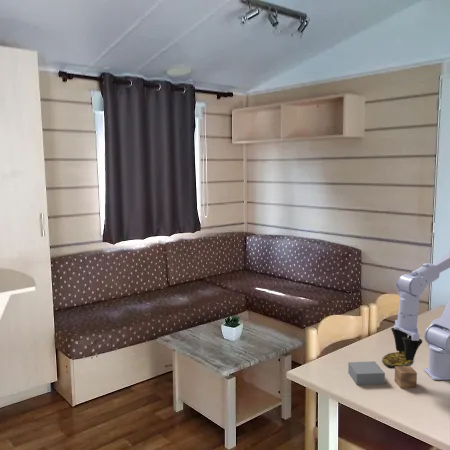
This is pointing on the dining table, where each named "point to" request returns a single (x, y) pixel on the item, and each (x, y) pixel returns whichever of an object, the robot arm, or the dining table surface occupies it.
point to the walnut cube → (405, 377)
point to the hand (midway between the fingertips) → (404, 355)
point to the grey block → (366, 373)
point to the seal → (396, 359)
